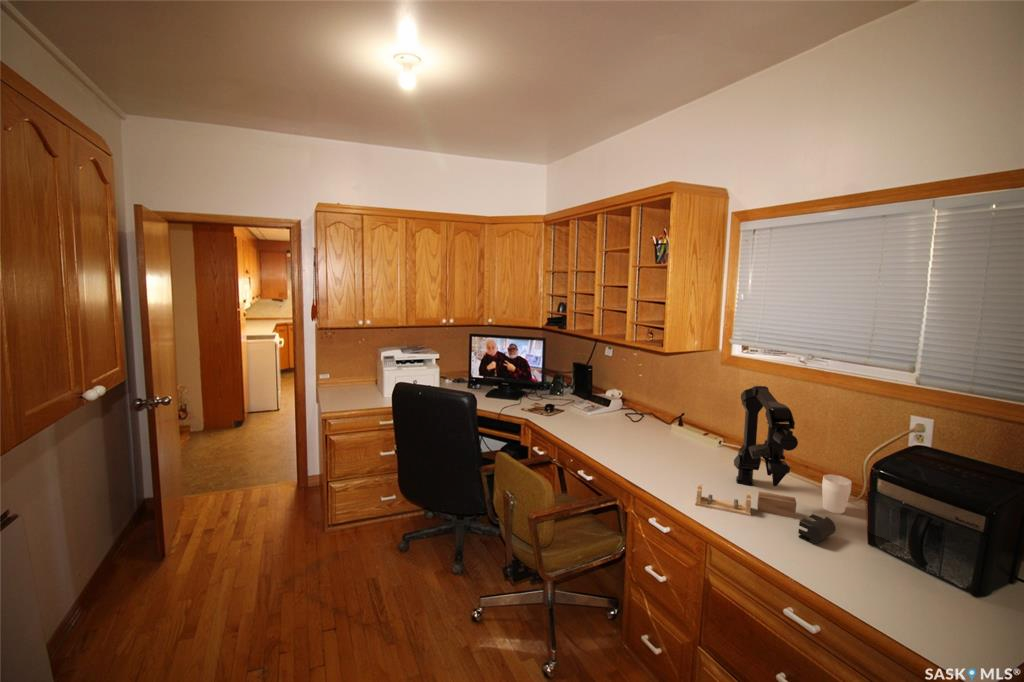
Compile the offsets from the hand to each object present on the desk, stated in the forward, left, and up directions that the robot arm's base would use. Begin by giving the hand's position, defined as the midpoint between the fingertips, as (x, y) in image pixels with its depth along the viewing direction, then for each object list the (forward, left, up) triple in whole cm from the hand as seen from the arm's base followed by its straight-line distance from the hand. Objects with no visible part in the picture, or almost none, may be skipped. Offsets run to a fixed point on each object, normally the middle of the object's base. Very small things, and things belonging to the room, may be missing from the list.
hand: (771, 480), depth 178 cm
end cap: (+14, +13, -13) cm, 23 cm away
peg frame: (+3, -16, -12) cm, 20 cm away
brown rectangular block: (-1, +2, -12) cm, 13 cm away
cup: (-12, +22, -13) cm, 28 cm away
